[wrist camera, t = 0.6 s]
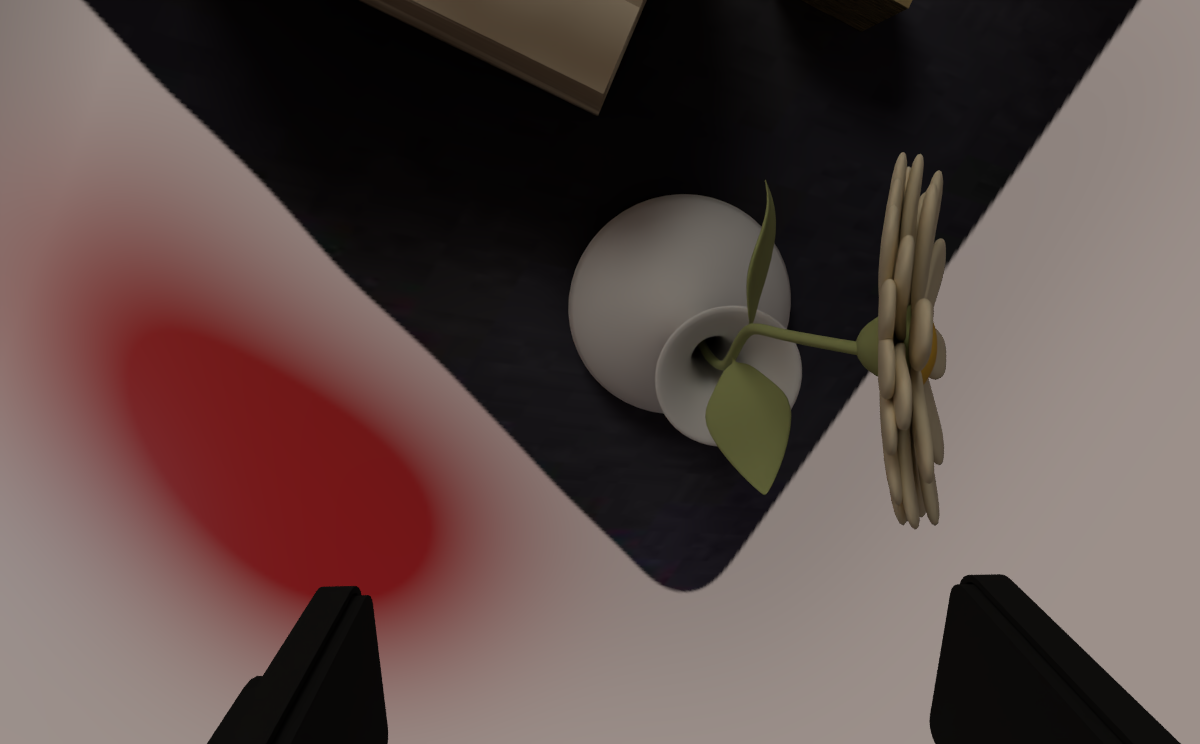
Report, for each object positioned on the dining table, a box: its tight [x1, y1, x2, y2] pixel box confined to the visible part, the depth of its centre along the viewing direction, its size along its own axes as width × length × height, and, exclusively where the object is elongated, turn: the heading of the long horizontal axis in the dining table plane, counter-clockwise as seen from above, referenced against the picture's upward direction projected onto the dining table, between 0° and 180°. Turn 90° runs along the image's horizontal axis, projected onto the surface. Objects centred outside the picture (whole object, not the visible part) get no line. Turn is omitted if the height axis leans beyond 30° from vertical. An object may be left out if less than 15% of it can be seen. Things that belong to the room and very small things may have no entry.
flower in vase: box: [568, 152, 946, 529], centre depth 24 cm, size 13×11×25 cm
